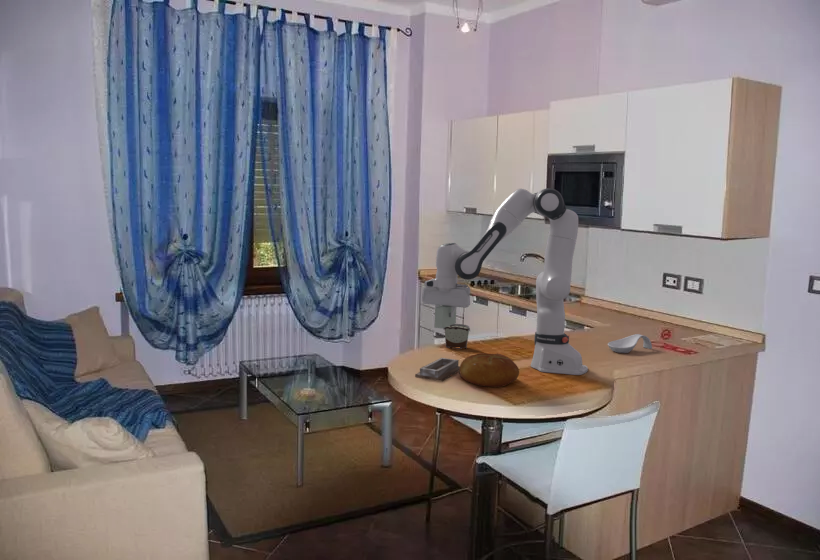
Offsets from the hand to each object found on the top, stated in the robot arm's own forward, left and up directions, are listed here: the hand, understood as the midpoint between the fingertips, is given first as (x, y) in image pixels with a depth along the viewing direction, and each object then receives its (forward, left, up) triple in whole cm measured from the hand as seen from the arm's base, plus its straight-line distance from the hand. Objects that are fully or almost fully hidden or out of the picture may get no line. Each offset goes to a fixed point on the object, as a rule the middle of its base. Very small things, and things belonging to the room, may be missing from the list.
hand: (445, 316), depth 276 cm
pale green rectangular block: (0, 0, -4) cm, 4 cm away
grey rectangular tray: (-6, +18, -19) cm, 27 cm away
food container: (+6, -29, -19) cm, 35 cm away
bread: (-26, +18, -19) cm, 37 cm away
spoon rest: (-64, -65, -19) cm, 93 cm away
